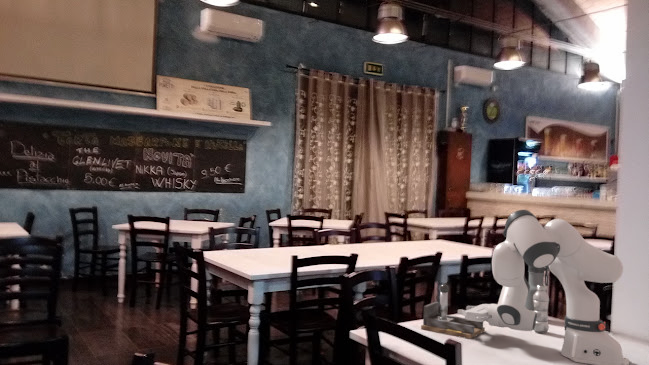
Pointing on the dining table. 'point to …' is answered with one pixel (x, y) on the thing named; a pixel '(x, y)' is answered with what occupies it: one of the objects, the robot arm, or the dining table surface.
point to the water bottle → (535, 284)
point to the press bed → (449, 323)
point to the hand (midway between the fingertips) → (462, 309)
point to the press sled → (444, 303)
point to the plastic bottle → (541, 309)
